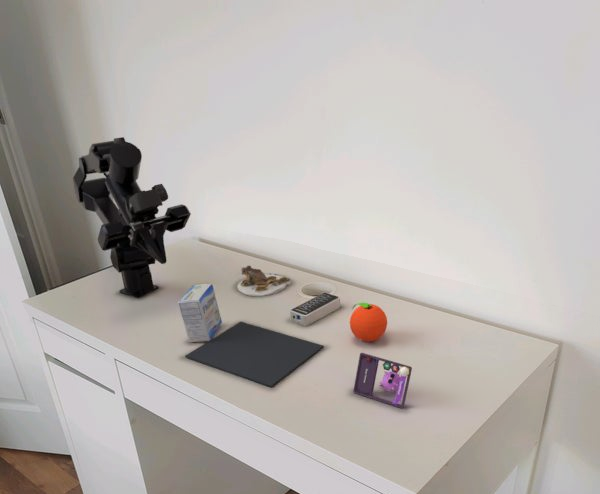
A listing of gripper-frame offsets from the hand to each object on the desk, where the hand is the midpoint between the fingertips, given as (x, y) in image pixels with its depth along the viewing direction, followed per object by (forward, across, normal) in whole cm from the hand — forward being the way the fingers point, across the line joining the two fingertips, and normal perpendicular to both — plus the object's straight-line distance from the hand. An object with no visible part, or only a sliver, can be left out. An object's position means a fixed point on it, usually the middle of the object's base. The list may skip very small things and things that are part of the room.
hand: (164, 262), depth 123 cm
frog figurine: (+9, +22, +7) cm, 25 cm away
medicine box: (+17, 0, -1) cm, 17 cm away
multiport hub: (+23, +21, -7) cm, 32 cm away
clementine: (+34, +21, -17) cm, 43 cm away
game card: (+44, +10, -28) cm, 54 cm away
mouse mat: (+26, +3, -10) cm, 28 cm away
